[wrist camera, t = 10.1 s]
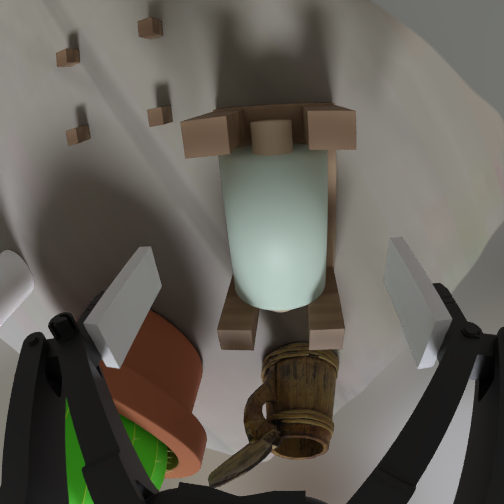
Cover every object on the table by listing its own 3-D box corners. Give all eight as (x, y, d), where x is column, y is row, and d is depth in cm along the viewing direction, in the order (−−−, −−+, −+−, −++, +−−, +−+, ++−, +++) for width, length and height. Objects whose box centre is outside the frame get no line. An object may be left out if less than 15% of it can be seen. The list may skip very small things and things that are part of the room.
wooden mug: (266, 307, 31) (245, 479, 16) (353, 363, 34) (368, 504, 19) (217, 349, 35) (181, 492, 20) (301, 396, 38) (297, 521, 23)
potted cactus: (256, 376, 37) (227, 571, 15) (150, 410, 45) (105, 539, 23) (125, 247, 30) (-28, 463, 8) (47, 321, 38) (-39, 450, 16)
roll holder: (215, 109, 23) (178, 120, 15) (332, 102, 21) (357, 109, 14) (237, 282, 30) (220, 350, 22) (331, 280, 29) (343, 349, 21)
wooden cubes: (69, 53, 20) (56, 53, 19) (161, 21, 19) (151, 16, 17) (80, 141, 25) (68, 145, 23) (172, 121, 23) (163, 124, 22)
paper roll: (225, 120, 22) (202, 132, 16) (320, 115, 21) (334, 125, 15) (243, 278, 29) (231, 331, 23) (320, 277, 28) (327, 330, 22)
